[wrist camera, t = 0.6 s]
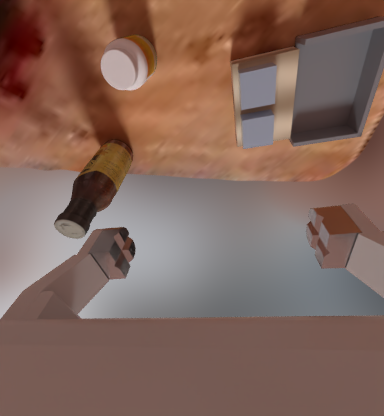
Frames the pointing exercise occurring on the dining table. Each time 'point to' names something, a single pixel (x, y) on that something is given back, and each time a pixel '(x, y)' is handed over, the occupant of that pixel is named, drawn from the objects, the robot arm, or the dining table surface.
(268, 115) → the tile
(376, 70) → the tray
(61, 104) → the dining table surface
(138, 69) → the supplement bottle
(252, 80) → the tile
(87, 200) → the sauce bottle
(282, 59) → the board
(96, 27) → the dining table surface
